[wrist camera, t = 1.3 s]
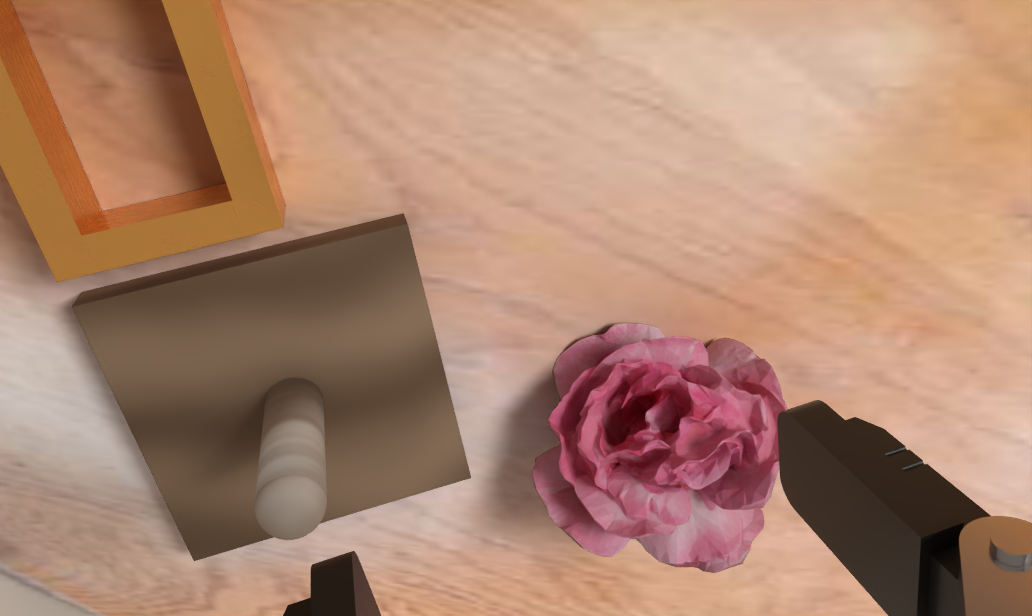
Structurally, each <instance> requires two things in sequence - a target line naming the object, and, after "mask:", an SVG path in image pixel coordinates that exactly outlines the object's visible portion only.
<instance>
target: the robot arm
mask: <svg viewBox="0 0 1032 616" xmlns="http://www.w3.org/2000/svg"><path fill="white" fill-rule="evenodd" d="M777 429H778V448H779V467H780V479H781V483H782V487H783V490H784V492H785V494H786V497H787V499H788V500H789V502H790V504H791V505H792V507H793V508H794V509H795V511H796V512H797V513H798V514H799V515H800V516H801V517H802V518H803V520H804V521H805V522H806V523H807V524H808V525H809V526H810V527H811V529H812V530H813V531H814V532H815V533H816V534H817V535H818V537H819V538H820V539H821V540H822V541H823V542H824V543H825V544H826V546H827V547H828V548H829V549H830V550H831V551H832V552H833V553H834V555H835V556H836V557H837V558H838V559H839V560H840V561H841V562H842V564H843V565H844V566H845V567H846V568H847V569H848V570H849V572H850V573H851V574H852V575H853V576H854V577H855V578H856V579H857V581H858V582H859V583H860V584H861V585H862V586H863V587H864V588H865V590H866V591H867V592H868V593H869V594H870V595H871V596H872V598H873V599H874V600H875V601H876V602H877V603H878V604H879V605H880V607H881V608H882V609H883V610H884V611H885V612H886V613H887V614H888V616H1032V523H1030V522H1027V521H1025V520H1021V519H1017V518H1012V517H1005V516H990V515H989V514H988V513H987V512H985V511H984V510H983V509H982V508H981V507H979V506H978V505H977V504H976V503H974V502H973V501H972V500H971V499H969V498H968V497H967V496H966V495H965V494H963V493H962V492H961V491H960V490H958V489H957V488H956V487H955V486H954V485H952V484H951V483H950V482H949V481H947V480H946V479H945V478H944V477H942V476H941V475H940V474H939V473H938V472H936V471H935V470H934V469H933V468H931V467H930V466H929V465H928V464H924V463H923V460H922V459H920V458H919V457H918V456H917V455H915V454H914V453H913V452H912V451H910V450H906V448H905V446H904V445H903V444H902V443H901V442H899V441H898V440H897V439H896V438H894V437H893V436H892V435H891V434H890V433H888V432H887V431H886V430H885V429H883V428H881V427H878V426H876V425H873V424H871V423H868V422H866V421H864V420H861V419H859V418H856V417H854V418H851V419H848V420H844V419H843V418H842V417H841V416H840V415H838V414H837V413H836V412H835V411H834V410H833V409H831V408H830V407H829V406H828V405H827V404H825V403H824V402H822V401H820V400H816V401H812V402H809V403H806V404H803V405H800V406H797V407H794V408H791V409H788V410H785V411H782V412H780V413H779V415H778V418H777ZM283 616H381V614H380V611H379V609H378V606H377V604H376V601H375V599H374V596H373V594H372V591H371V589H370V586H369V584H368V581H367V579H366V576H365V574H364V571H363V569H362V566H361V563H360V561H359V559H358V556H357V554H356V553H355V552H354V551H352V552H349V553H346V554H343V555H340V556H337V557H334V558H331V559H328V560H325V561H322V562H319V563H316V564H313V565H312V566H311V598H308V599H305V600H302V601H299V602H296V603H293V604H290V605H288V606H287V608H286V611H285V613H284V615H283Z"/></svg>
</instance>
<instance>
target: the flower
mask: <svg viewBox="0 0 1032 616" xmlns="http://www.w3.org/2000/svg"><path fill="white" fill-rule="evenodd" d="M553 372H554V378H555V383H556V387H557V392H558V394H559V396H560V398H561V401H560V402H559V404H558V406H557V407H556V408H555V409H554V410H553V411H552V413H551V414H550V415H549V418H548V422H547V424H548V426H549V427H550V428H551V430H552V431H553V432H554V434H555V435H556V437H557V438H558V439H559V441H560V442H561V446H557V447H554V448H552V449H550V450H549V451H547V452H545V453H544V454H542V455H540V456H539V457H537V458H536V459H535V467H534V469H533V471H532V473H533V479H534V485H535V488H536V490H537V492H538V494H539V496H540V498H541V500H542V502H543V504H544V505H545V507H546V510H547V512H548V514H549V516H550V517H551V518H552V519H553V521H554V522H555V524H557V525H558V526H559V527H560V528H561V529H562V530H563V531H564V532H565V533H566V534H568V535H569V536H570V537H571V538H572V539H573V540H574V541H575V542H576V543H577V544H578V545H579V546H580V547H582V548H584V549H586V550H587V551H589V552H592V553H594V554H596V555H599V556H603V557H612V556H613V555H615V554H617V553H618V552H620V551H621V550H622V549H623V548H624V547H625V546H626V544H627V543H628V541H629V539H631V538H632V539H636V540H638V541H639V542H640V543H641V544H642V546H643V547H644V549H645V550H646V551H647V552H648V553H649V554H651V555H652V556H653V557H654V558H655V559H657V560H658V561H659V562H662V563H665V564H668V565H672V566H675V567H695V568H699V569H700V570H702V571H705V572H712V573H716V572H720V571H723V570H725V569H728V568H730V567H733V566H737V565H740V564H743V562H744V560H745V558H746V556H747V555H748V553H749V551H750V547H751V544H752V541H753V540H754V539H755V537H756V536H757V535H758V534H759V533H760V531H761V530H762V529H763V526H764V516H763V511H762V510H761V509H760V508H763V507H764V505H765V504H766V503H767V501H768V500H769V498H770V497H771V494H772V490H773V487H774V483H775V480H776V477H777V473H778V470H779V469H780V467H779V448H778V429H777V418H778V415H779V413H780V412H782V411H785V410H787V407H786V404H785V401H784V400H783V397H782V392H781V388H780V384H779V382H778V379H777V377H776V375H775V373H774V371H773V369H772V367H771V365H770V364H769V363H768V362H767V361H766V360H765V359H760V358H759V357H758V356H757V355H756V354H755V353H754V351H753V350H752V349H750V348H749V347H748V346H746V345H745V344H743V343H741V342H739V341H737V340H734V339H729V338H721V339H717V340H716V341H714V342H712V343H711V344H710V345H709V346H708V347H707V348H705V347H704V345H703V343H702V342H701V341H699V340H696V339H693V338H689V337H674V336H671V337H665V336H664V335H663V333H662V332H661V331H660V330H659V329H658V328H657V327H654V326H651V325H646V324H639V323H617V324H614V325H613V326H612V327H611V328H610V329H609V330H608V331H607V332H606V333H605V334H603V335H592V336H589V337H586V338H584V339H581V340H579V341H578V342H576V343H574V344H573V345H572V346H571V347H569V348H568V349H567V350H565V351H564V352H562V353H561V354H560V355H559V357H558V358H557V360H556V363H555V366H554V370H553Z"/></svg>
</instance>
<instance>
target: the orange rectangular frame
mask: <svg viewBox="0 0 1032 616" xmlns="http://www.w3.org/2000/svg"><path fill="white" fill-rule="evenodd" d="M162 3H163V5H164V8H165V11H166V14H167V17H168V20H169V22H170V25H171V28H172V31H173V34H174V37H175V39H176V42H177V45H178V48H179V51H180V54H181V56H182V59H183V62H184V65H185V68H186V71H187V73H188V76H189V79H190V82H191V85H192V88H193V90H194V93H195V96H196V99H197V102H198V105H199V107H200V110H201V113H202V116H203V119H204V122H205V124H206V127H207V130H208V133H209V136H210V139H211V141H212V144H213V147H214V150H215V153H216V156H217V158H218V161H219V164H220V167H221V170H222V173H223V175H224V178H225V181H226V183H225V184H220V185H216V186H212V187H207V188H203V189H199V190H194V191H190V192H186V193H181V194H177V195H173V196H168V197H164V198H160V199H155V200H151V201H147V202H142V203H138V204H134V205H129V206H125V207H121V208H116V209H112V210H108V211H103V212H102V210H101V208H100V206H99V203H98V201H97V199H96V196H95V194H94V192H93V190H92V187H91V185H90V183H89V180H88V178H87V176H86V173H85V171H84V169H83V167H82V164H81V162H80V160H79V157H78V155H77V153H76V150H75V148H74V146H73V144H72V141H71V139H70V137H69V134H68V132H67V130H66V127H65V125H64V123H63V121H62V118H61V116H60V114H59V111H58V109H57V107H56V104H55V102H54V100H53V97H52V95H51V93H50V91H49V88H48V86H47V84H46V81H45V79H44V77H43V74H42V72H41V70H40V68H39V65H38V63H37V61H36V58H35V56H34V54H33V51H32V49H31V47H30V45H29V42H28V40H27V38H26V35H25V33H24V31H23V28H22V26H21V24H20V22H19V19H18V17H17V15H16V12H15V10H14V8H13V5H12V3H11V1H10V0H0V166H1V168H2V170H3V172H4V174H5V176H6V178H7V180H8V182H9V184H10V186H11V188H12V190H13V192H14V195H15V197H16V199H17V201H18V203H19V205H20V207H21V209H22V211H23V213H24V215H25V217H26V219H27V221H28V224H29V226H30V228H31V230H32V232H33V234H34V236H35V238H36V240H37V242H38V244H39V246H40V248H41V250H42V253H43V255H44V257H45V259H46V261H47V263H48V265H49V267H50V269H51V271H52V273H53V275H54V277H55V279H56V282H60V281H64V280H68V279H72V278H76V277H81V276H85V275H89V274H93V273H97V272H101V271H105V270H109V269H114V268H118V267H122V266H126V265H130V264H134V263H138V262H143V261H147V260H151V259H155V258H159V257H163V256H167V255H172V254H176V253H180V252H184V251H188V250H192V249H196V248H200V247H205V246H209V245H213V244H217V243H221V242H225V241H229V240H234V239H238V238H242V237H246V236H250V235H254V234H258V233H263V232H267V231H271V230H275V229H279V228H283V226H284V216H285V207H286V205H285V202H284V199H283V196H282V192H281V189H280V186H279V183H278V180H277V177H276V174H275V171H274V168H273V164H272V161H271V158H270V155H269V152H268V149H267V146H266V143H265V140H264V136H263V133H262V130H261V127H260V124H259V121H258V118H257V115H256V112H255V108H254V105H253V102H252V99H251V96H250V93H249V90H248V87H247V84H246V80H245V77H244V74H243V71H242V68H241V65H240V62H239V59H238V56H237V52H236V49H235V46H234V43H233V40H232V37H231V34H230V31H229V28H228V25H227V21H226V18H225V15H224V12H223V9H222V6H221V3H220V0H162Z"/></svg>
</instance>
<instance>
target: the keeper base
mask: <svg viewBox="0 0 1032 616" xmlns="http://www.w3.org/2000/svg"><path fill="white" fill-rule="evenodd" d="M72 308H73V310H74V312H75V315H76V317H77V319H78V321H79V323H80V325H81V327H82V329H83V331H84V333H85V335H86V337H87V340H88V342H89V344H90V346H91V348H92V350H93V352H94V354H95V356H96V358H97V360H98V362H99V364H100V367H101V369H102V371H103V373H104V375H105V377H106V379H107V381H108V383H109V385H110V387H111V389H112V392H113V394H114V396H115V398H116V400H117V402H118V404H119V406H120V408H121V410H122V412H123V414H124V416H125V419H126V421H127V423H128V425H129V427H130V429H131V431H132V433H133V435H134V437H135V439H136V441H137V444H138V446H139V448H140V450H141V452H142V454H143V456H144V458H145V460H146V462H147V464H148V466H149V468H150V471H151V473H152V475H153V477H154V479H155V481H156V483H157V485H158V487H159V489H160V491H161V493H162V496H163V498H164V500H165V502H166V504H167V506H168V508H169V510H170V512H171V514H172V516H173V518H174V520H175V523H176V525H177V527H178V529H179V531H180V533H181V535H182V537H183V539H184V541H185V543H186V545H187V548H188V550H189V552H190V554H191V556H192V558H193V560H194V561H196V560H199V559H203V558H206V557H209V556H213V555H216V554H219V553H223V552H226V551H229V550H233V549H236V548H239V547H243V546H246V545H249V544H253V543H256V542H259V541H263V540H266V539H269V538H273V537H275V538H278V539H283V540H293V539H298V538H301V537H304V536H306V535H307V534H309V533H311V532H312V531H313V530H314V529H315V528H316V527H317V526H318V525H319V524H320V523H323V522H326V521H329V520H333V519H336V518H339V517H343V516H346V515H349V514H353V513H356V512H359V511H363V510H366V509H369V508H373V507H376V506H379V505H382V504H386V503H389V502H392V501H396V500H399V499H402V498H406V497H409V496H412V495H416V494H419V493H422V492H426V491H429V490H432V489H436V488H439V487H442V486H446V485H449V484H452V483H456V482H459V481H462V480H466V479H469V478H471V475H470V471H469V467H468V464H467V460H466V456H465V452H464V448H463V444H462V440H461V436H460V432H459V428H458V424H457V420H456V416H455V412H454V408H453V404H452V400H451V396H450V392H449V388H448V384H447V380H446V376H445V372H444V368H443V364H442V360H441V356H440V352H439V348H438V344H437V340H436V336H435V332H434V328H433V324H432V320H431V316H430V312H429V308H428V304H427V300H426V296H425V292H424V288H423V284H422V280H421V276H420V272H419V268H418V264H417V260H416V256H415V252H414V248H413V244H412V240H411V236H410V232H409V228H408V224H407V221H406V219H405V216H404V214H400V215H395V216H391V217H387V218H383V219H379V220H375V221H371V222H367V223H363V224H359V225H355V226H351V227H346V228H342V229H338V230H334V231H330V232H326V233H322V234H318V235H314V236H310V237H306V238H302V239H297V240H293V241H289V242H285V243H281V244H277V245H273V246H269V247H265V248H261V249H257V250H252V251H248V252H244V253H240V254H236V255H232V256H228V257H224V258H220V259H216V260H212V261H208V262H203V263H199V264H195V265H191V266H187V267H183V268H179V269H175V270H171V271H167V272H163V273H158V274H154V275H150V276H146V277H142V278H138V279H134V280H130V281H126V282H122V283H118V284H114V285H109V286H105V287H101V288H97V289H93V290H89V291H85V292H82V293H81V295H80V296H79V298H78V299H77V300H76V302H75V303H74V305H73V306H72Z"/></svg>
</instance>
